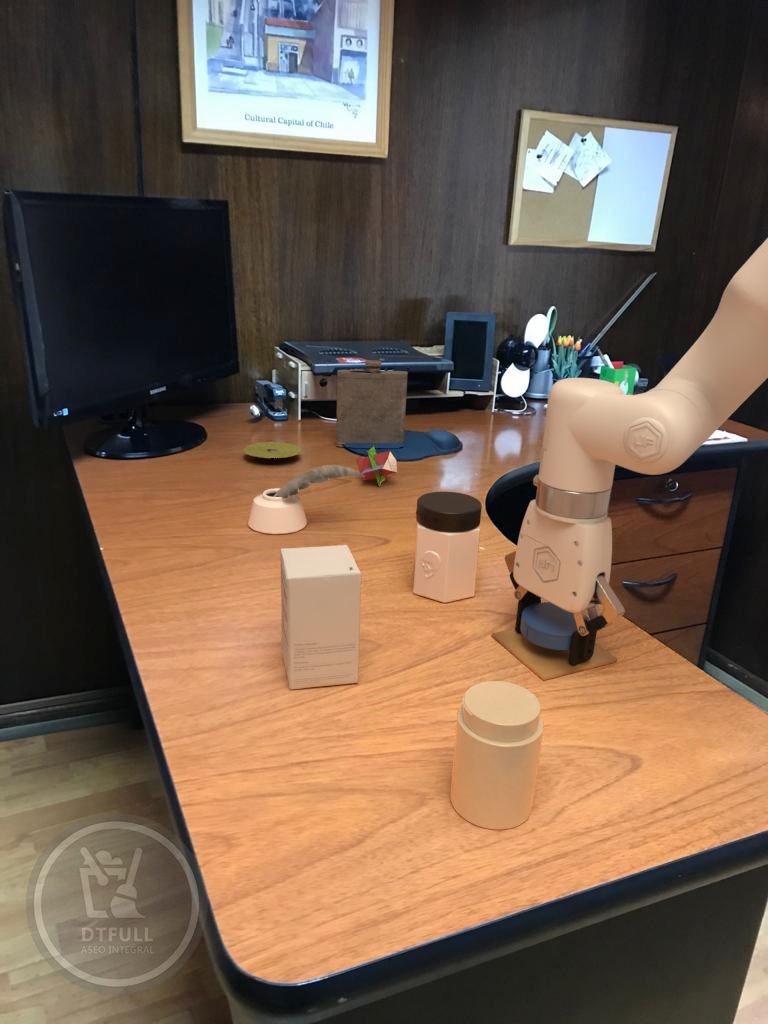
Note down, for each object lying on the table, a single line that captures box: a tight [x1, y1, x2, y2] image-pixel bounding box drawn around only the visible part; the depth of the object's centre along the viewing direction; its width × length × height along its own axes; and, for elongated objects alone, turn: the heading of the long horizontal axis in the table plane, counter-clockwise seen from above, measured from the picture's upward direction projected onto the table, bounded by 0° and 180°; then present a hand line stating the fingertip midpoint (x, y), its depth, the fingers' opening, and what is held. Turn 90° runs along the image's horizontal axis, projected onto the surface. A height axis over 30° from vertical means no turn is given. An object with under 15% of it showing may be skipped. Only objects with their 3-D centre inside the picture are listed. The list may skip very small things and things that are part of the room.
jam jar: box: [449, 680, 545, 831], centre depth 62 cm, size 7×7×10 cm
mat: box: [242, 441, 302, 459], centre depth 151 cm, size 11×11×2 cm
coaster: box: [490, 627, 618, 682], centre depth 87 cm, size 10×10×1 cm
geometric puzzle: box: [355, 445, 398, 486], centre depth 139 cm, size 7×7×8 cm
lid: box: [520, 601, 590, 650], centre depth 86 cm, size 8×8×2 cm
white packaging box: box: [279, 544, 362, 691], centre depth 79 cm, size 7×7×13 cm
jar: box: [412, 491, 482, 604], centre depth 99 cm, size 9×8×12 cm
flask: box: [335, 359, 409, 445], centre depth 159 cm, size 4×14×18 cm, turn 96°
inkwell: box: [247, 464, 365, 535], centre depth 118 cm, size 9×18×10 cm, turn 92°
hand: (552, 644), depth 87 cm, fingers closed on lid, 7 cm apart
